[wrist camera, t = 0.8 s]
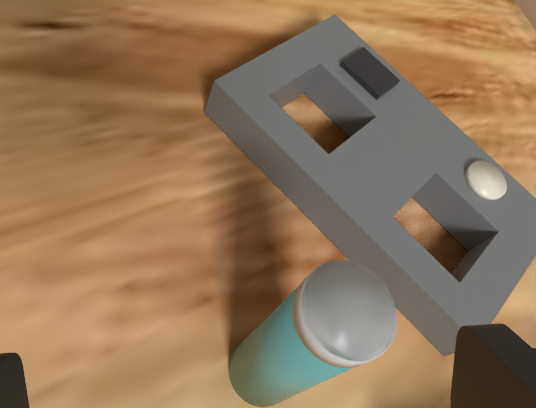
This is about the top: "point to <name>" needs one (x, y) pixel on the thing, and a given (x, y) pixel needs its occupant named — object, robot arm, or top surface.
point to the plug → (315, 334)
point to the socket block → (382, 175)
